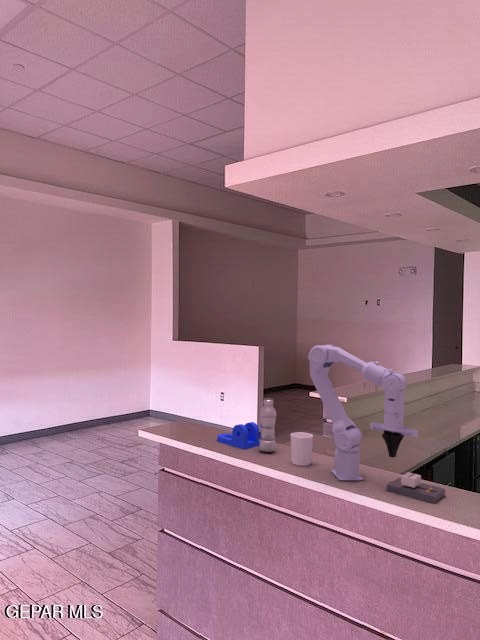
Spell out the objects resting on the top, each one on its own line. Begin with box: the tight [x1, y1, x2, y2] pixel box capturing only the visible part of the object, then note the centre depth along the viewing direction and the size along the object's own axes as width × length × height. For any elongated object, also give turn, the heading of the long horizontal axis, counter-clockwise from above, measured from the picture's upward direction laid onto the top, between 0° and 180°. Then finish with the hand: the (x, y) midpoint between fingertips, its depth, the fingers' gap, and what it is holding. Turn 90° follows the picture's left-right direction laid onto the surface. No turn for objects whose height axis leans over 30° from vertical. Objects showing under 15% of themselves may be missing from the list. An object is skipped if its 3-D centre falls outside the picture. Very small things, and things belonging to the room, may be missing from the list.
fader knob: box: [400, 471, 422, 488], centre depth 147 cm, size 4×5×3 cm
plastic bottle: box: [258, 398, 277, 453], centre depth 186 cm, size 6×7×20 cm
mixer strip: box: [386, 477, 446, 504], centre depth 146 cm, size 14×9×2 cm, turn 49°
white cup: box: [290, 431, 314, 467], centre depth 173 cm, size 8×8×10 cm
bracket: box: [216, 421, 260, 450], centre depth 198 cm, size 18×8×9 cm, turn 45°
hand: (392, 456), depth 151 cm, fingers closed
